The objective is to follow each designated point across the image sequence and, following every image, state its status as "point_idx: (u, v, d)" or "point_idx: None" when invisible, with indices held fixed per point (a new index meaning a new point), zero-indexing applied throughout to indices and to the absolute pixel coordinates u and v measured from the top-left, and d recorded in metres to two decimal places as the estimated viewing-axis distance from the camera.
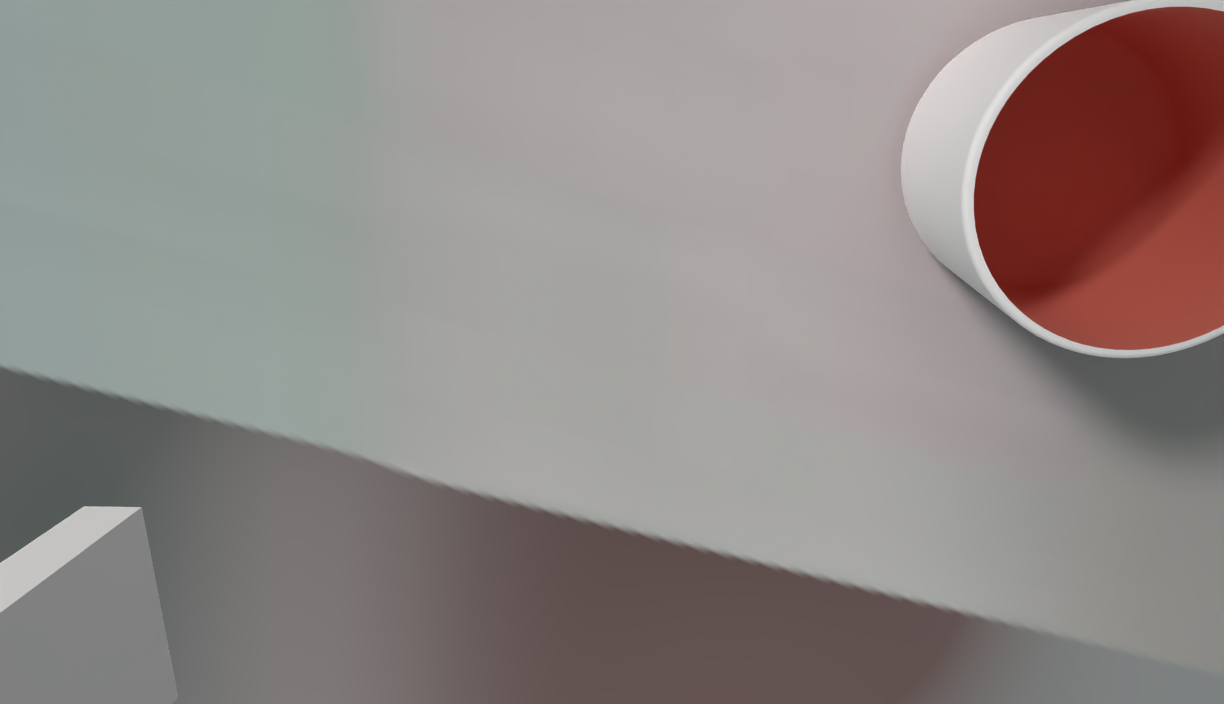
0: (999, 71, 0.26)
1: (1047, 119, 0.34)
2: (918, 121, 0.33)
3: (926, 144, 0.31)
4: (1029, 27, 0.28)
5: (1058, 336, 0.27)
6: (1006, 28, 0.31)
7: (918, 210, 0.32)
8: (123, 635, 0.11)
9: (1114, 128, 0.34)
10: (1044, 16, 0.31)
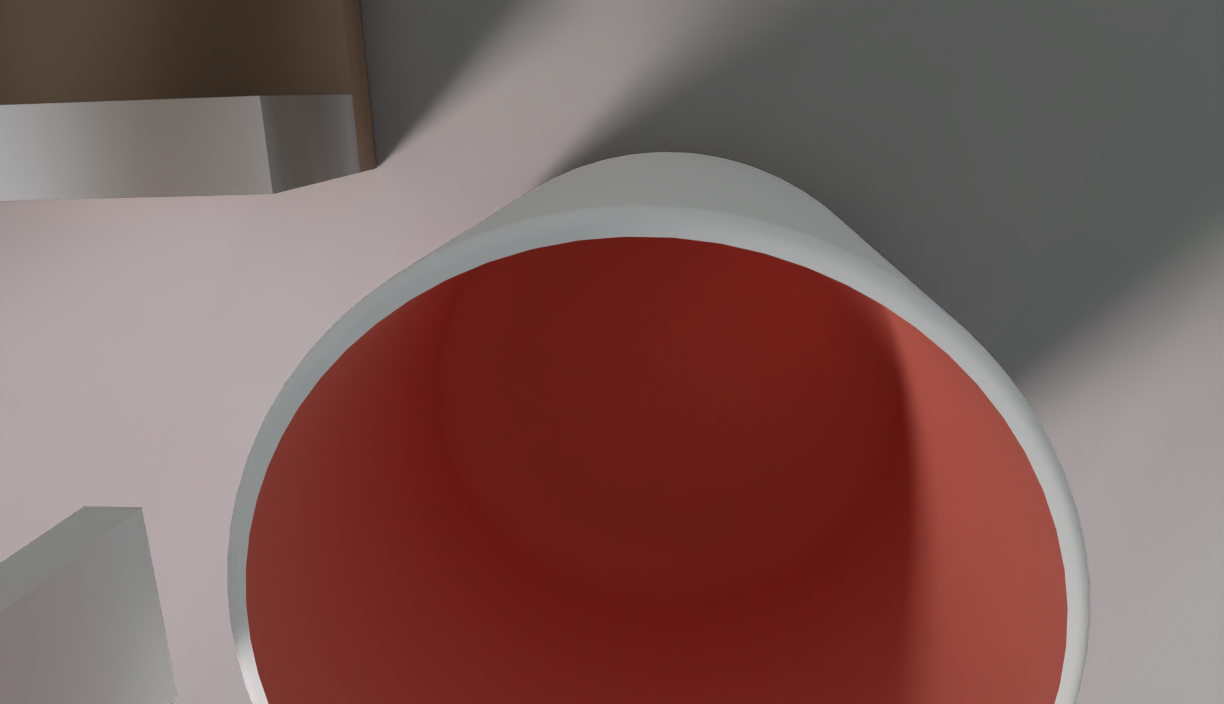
0: None
1: (602, 357, 0.20)
2: None
3: None
4: None
5: None
6: None
7: None
8: (123, 635, 0.11)
9: (630, 248, 0.19)
10: None
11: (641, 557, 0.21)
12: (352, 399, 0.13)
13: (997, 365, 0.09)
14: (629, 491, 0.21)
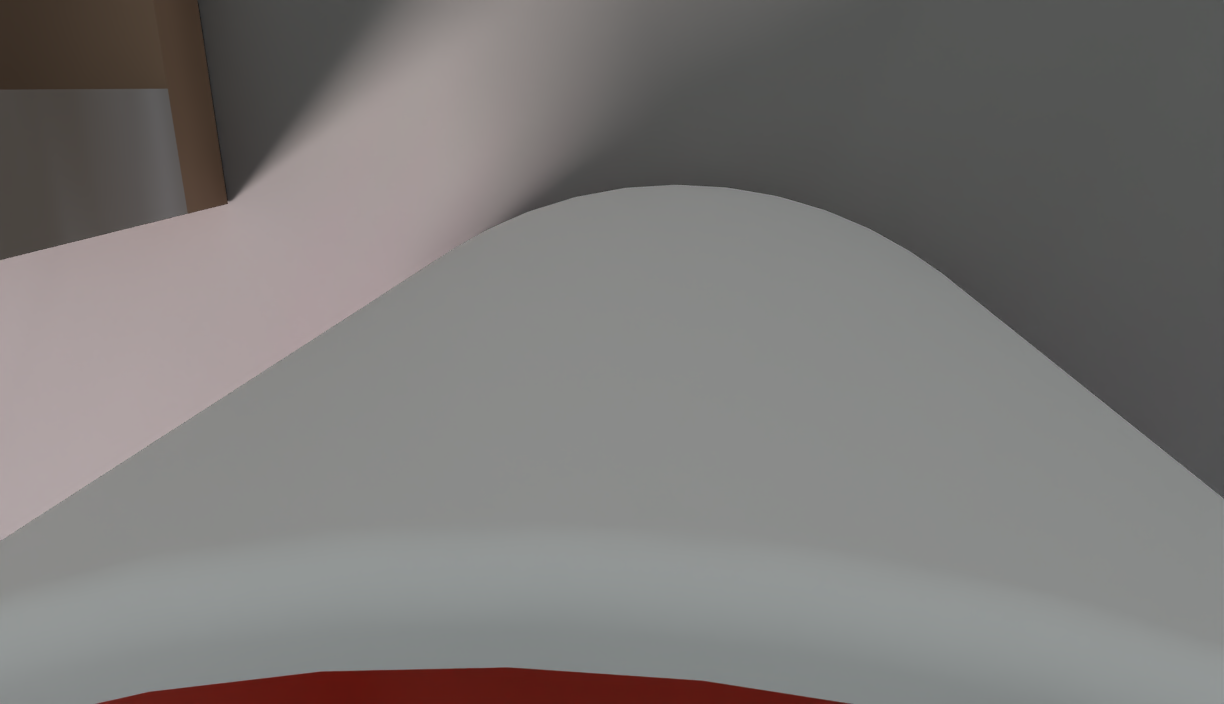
0: None
1: None
2: None
3: None
4: None
5: None
6: None
7: None
8: None
9: None
10: None
11: None
12: None
13: None
14: (621, 691, 0.14)
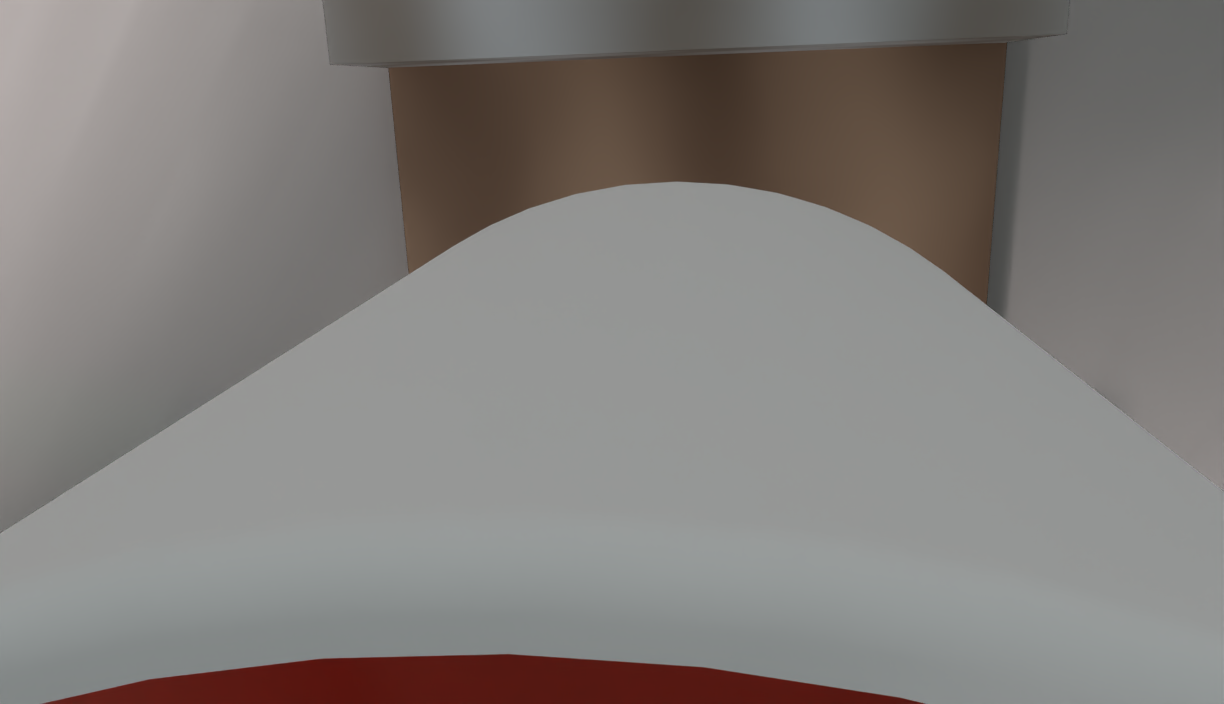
0: None
1: None
2: None
3: None
4: None
5: None
6: None
7: None
8: None
9: None
10: None
11: None
12: None
13: None
14: (622, 688, 0.14)
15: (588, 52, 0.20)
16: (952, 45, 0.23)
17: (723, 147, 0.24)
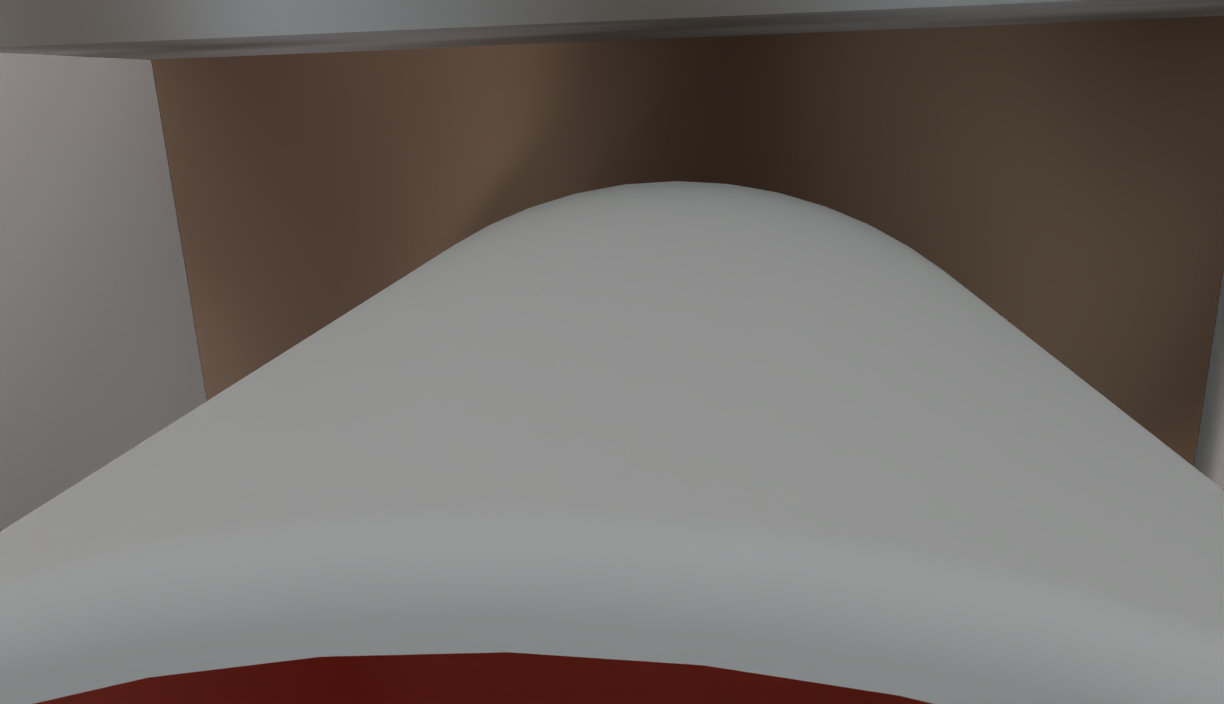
0: None
1: None
2: None
3: None
4: None
5: None
6: None
7: None
8: None
9: None
10: None
11: None
12: None
13: None
14: (622, 688, 0.14)
15: (461, 24, 0.10)
16: (1159, 20, 0.13)
17: None
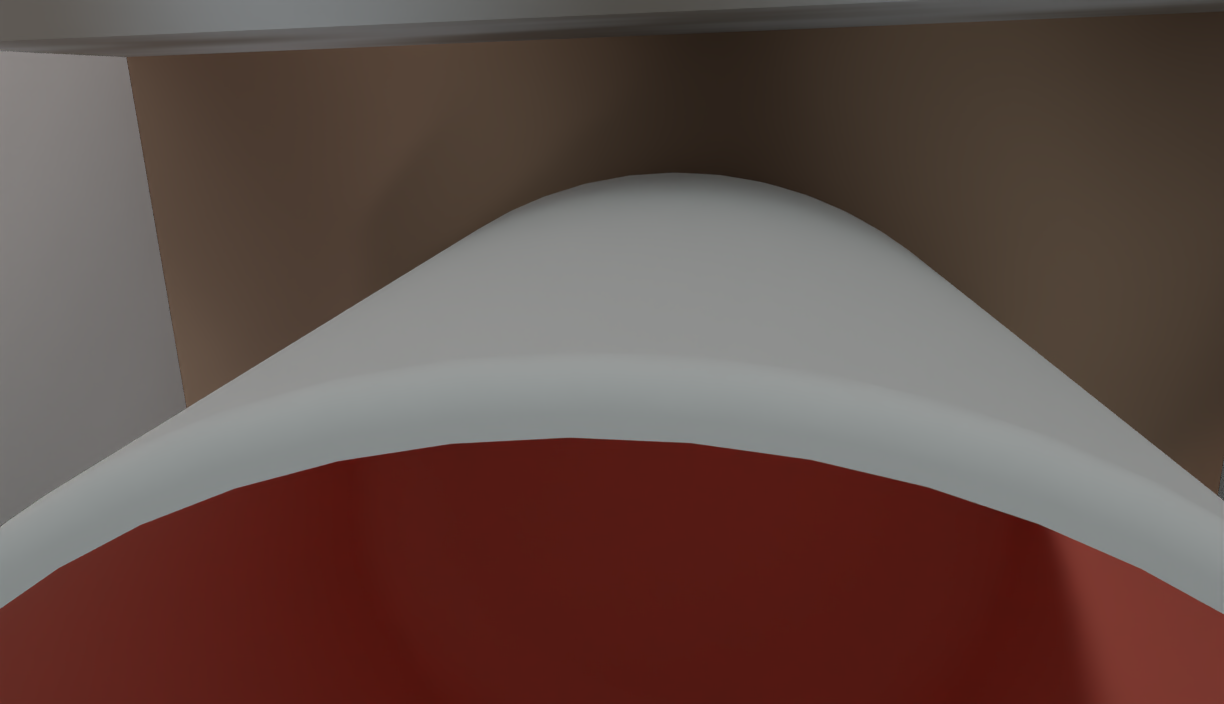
0: None
1: (587, 457, 0.14)
2: None
3: None
4: None
5: None
6: None
7: None
8: None
9: None
10: None
11: None
12: (126, 616, 0.08)
13: None
14: (625, 636, 0.15)
15: (446, 18, 0.09)
16: (1187, 14, 0.12)
17: None
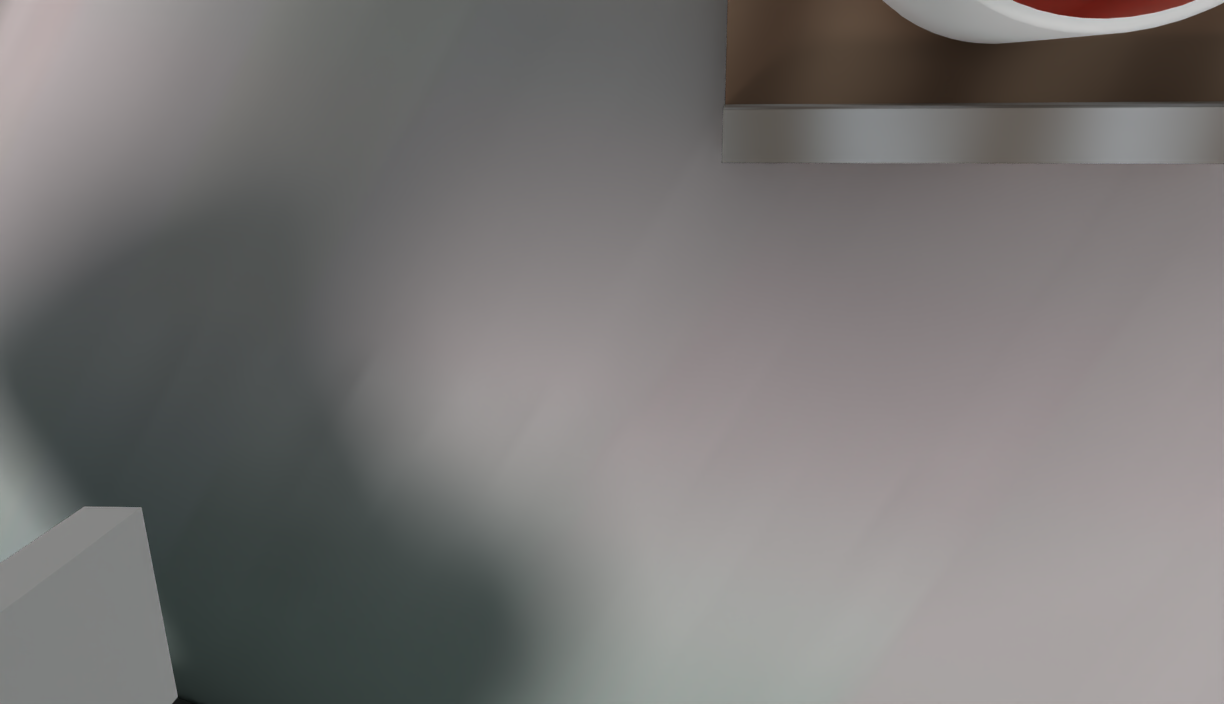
0: None
1: None
2: (929, 25, 0.26)
3: (969, 32, 0.24)
4: None
5: None
6: None
7: None
8: (123, 635, 0.11)
9: None
10: None
11: None
12: None
13: None
14: None
15: None
16: None
17: None
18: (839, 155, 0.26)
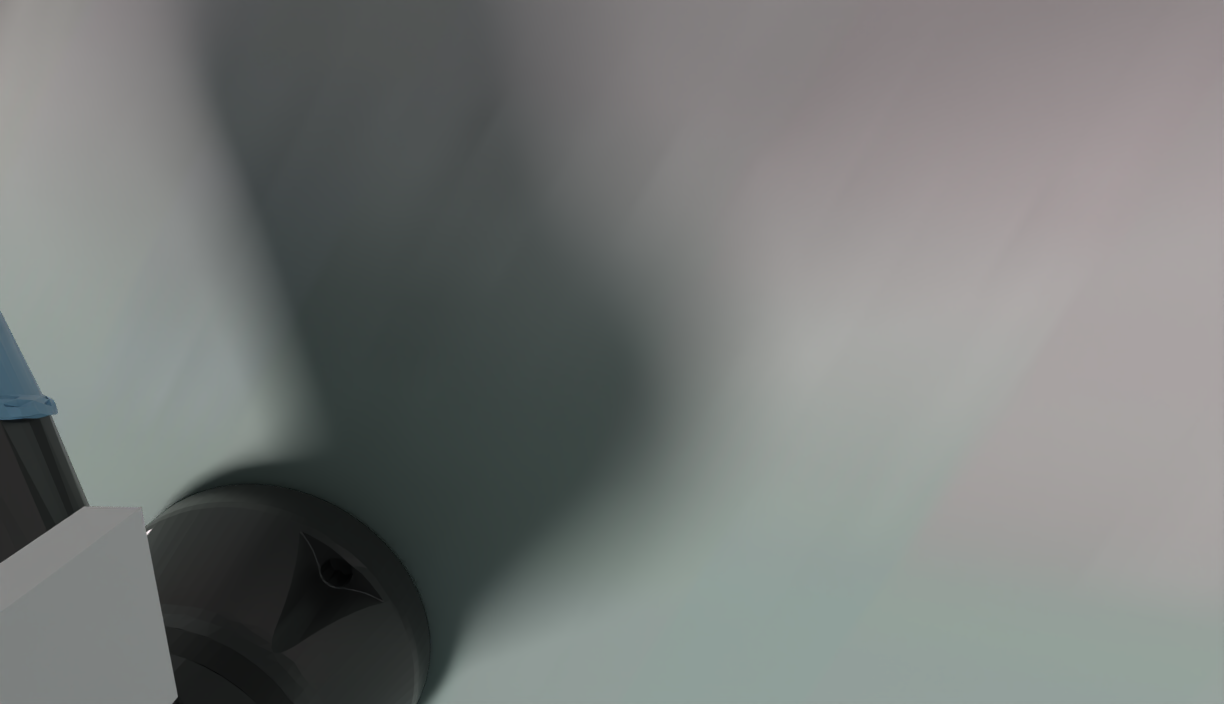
0: None
1: None
2: None
3: None
4: None
5: None
6: None
7: None
8: (123, 635, 0.11)
9: None
10: None
11: None
12: None
13: None
14: None
15: None
16: None
17: None
18: None
